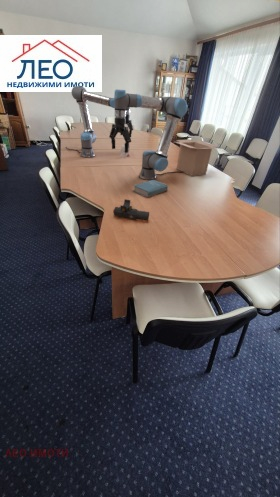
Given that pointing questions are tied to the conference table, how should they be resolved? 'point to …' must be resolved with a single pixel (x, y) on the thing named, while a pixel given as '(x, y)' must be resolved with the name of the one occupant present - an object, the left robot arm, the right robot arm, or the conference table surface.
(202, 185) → the conference table surface
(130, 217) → the laser sight
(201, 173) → the box
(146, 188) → the book
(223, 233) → the conference table surface
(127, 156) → the ink cartridge box
